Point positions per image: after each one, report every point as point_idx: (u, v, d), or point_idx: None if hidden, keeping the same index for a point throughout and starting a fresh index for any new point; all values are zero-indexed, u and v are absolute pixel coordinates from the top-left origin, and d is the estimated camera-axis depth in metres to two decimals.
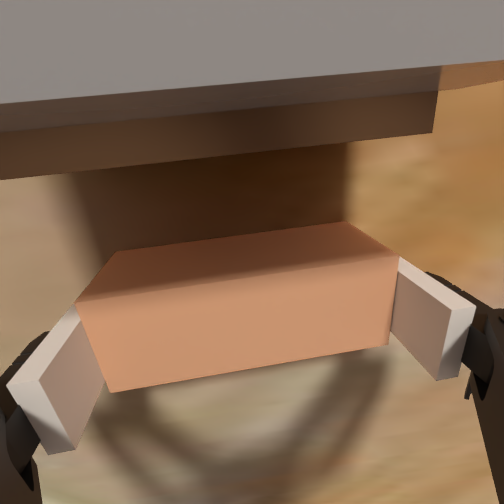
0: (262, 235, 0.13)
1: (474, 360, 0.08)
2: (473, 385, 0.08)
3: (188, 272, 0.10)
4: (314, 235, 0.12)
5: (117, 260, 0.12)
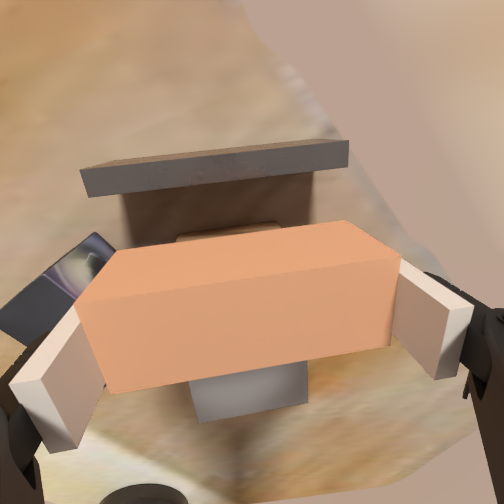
0: (262, 235, 0.13)
1: (472, 360, 0.08)
2: (471, 385, 0.08)
3: (188, 273, 0.10)
4: (315, 235, 0.12)
5: (116, 260, 0.12)
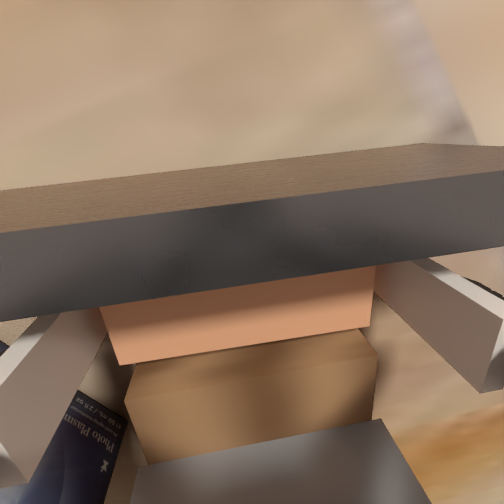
0: None
1: None
2: None
3: None
4: None
5: None
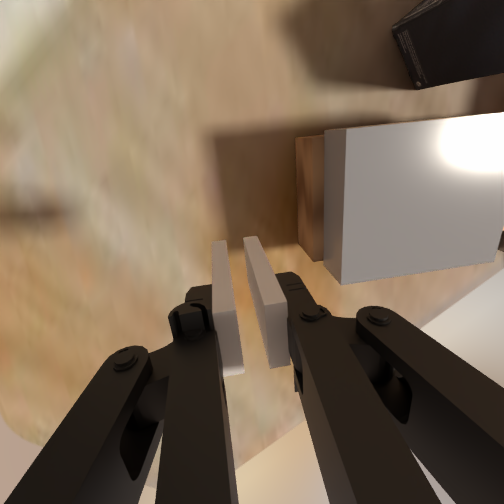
0: None
1: (292, 357, 0.09)
2: (296, 380, 0.09)
3: None
4: None
5: None
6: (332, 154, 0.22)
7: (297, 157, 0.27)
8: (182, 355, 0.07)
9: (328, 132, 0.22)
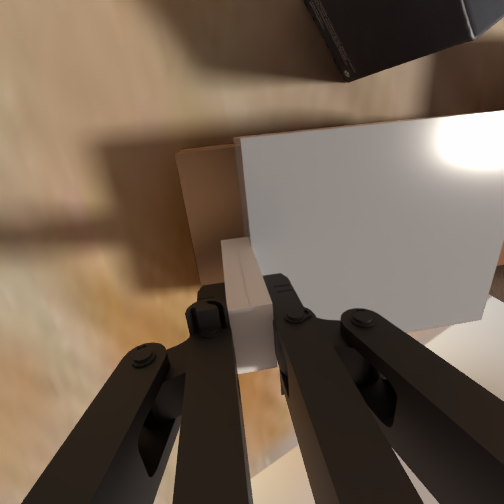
0: None
1: (278, 360, 0.09)
2: (282, 383, 0.09)
3: None
4: None
5: None
6: (239, 174, 0.14)
7: None
8: (198, 352, 0.08)
9: (234, 140, 0.15)
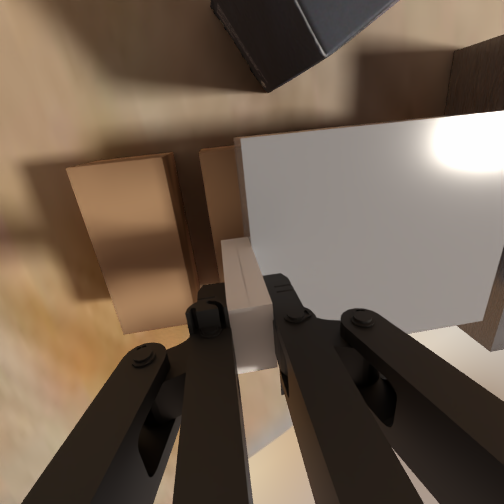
0: None
1: (278, 360, 0.09)
2: (282, 383, 0.09)
3: None
4: None
5: None
6: (239, 174, 0.14)
7: None
8: (199, 352, 0.08)
9: (234, 141, 0.15)
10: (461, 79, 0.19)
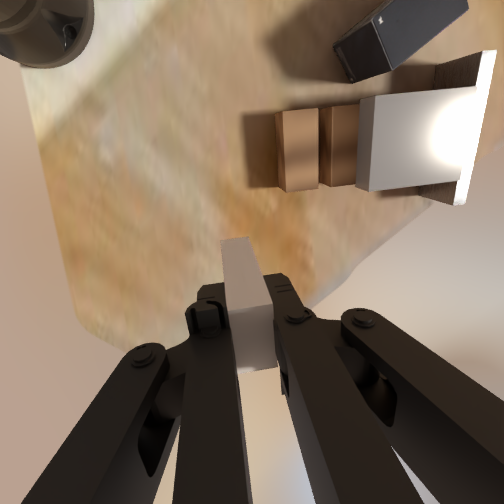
0: None
1: (278, 360, 0.09)
2: (282, 383, 0.09)
3: None
4: None
5: None
6: (365, 112, 0.38)
7: (276, 126, 0.43)
8: (198, 352, 0.08)
9: (363, 100, 0.38)
10: (439, 78, 0.43)
